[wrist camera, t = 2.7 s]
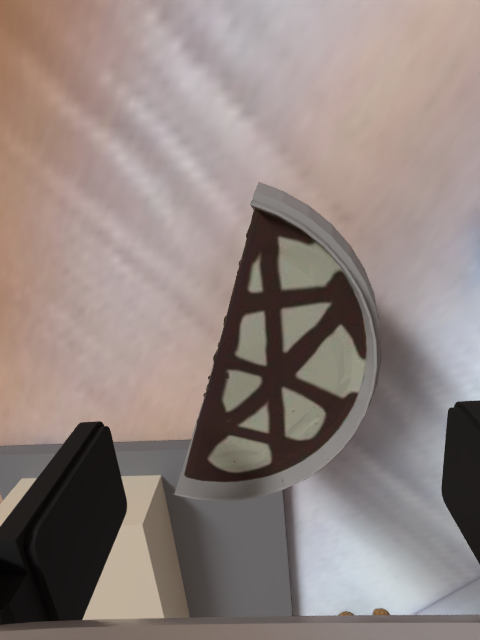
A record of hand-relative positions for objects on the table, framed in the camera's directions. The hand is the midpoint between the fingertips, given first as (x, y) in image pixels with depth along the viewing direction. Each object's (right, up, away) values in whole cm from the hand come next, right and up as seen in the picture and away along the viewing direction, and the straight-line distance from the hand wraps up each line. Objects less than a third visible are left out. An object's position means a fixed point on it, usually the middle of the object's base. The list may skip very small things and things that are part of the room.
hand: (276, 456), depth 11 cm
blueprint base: (-7, -14, +19) cm, 25 cm away
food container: (+2, +5, +12) cm, 13 cm away
